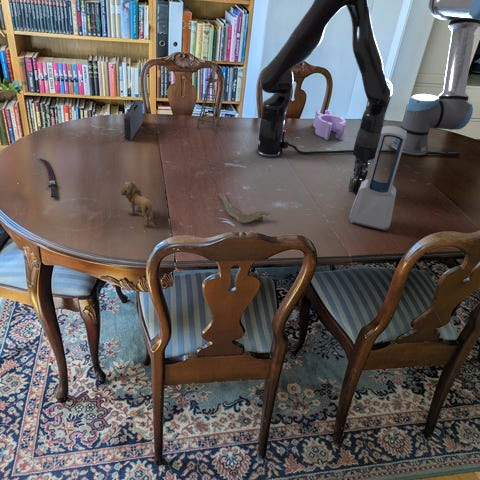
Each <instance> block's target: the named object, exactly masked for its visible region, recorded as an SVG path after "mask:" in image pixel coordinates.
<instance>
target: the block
mask: <svg viewBox="0 0 480 480" xmlns="http://www.w3.org/2000/svg"><path fill="white" fill-rule="evenodd" d="M355 180H356V177H354V175H353V176H352V175H350V178H349V183H348V191H349V193H355V192H353V189H354V185H355ZM360 180H361V179H360Z"/></svg>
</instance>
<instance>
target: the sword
mask: <svg viewBox="0 0 480 480" xmlns="http://www.w3.org/2000/svg"><path fill="white" fill-rule="evenodd" d="M40 161H41V162H42V163H43V165H44V166H45V169H46V173H47V176H48V185H47V188H50V198H56V197H57V189H56V188H57V187H59V185H58V184H57V183H56V180H55V176H54V172H53V169H52V167H51V164H50V163H49V161H48V160H46V159H43V158H40Z"/></svg>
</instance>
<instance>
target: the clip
mask: <svg viewBox="0 0 480 480" xmlns="http://www.w3.org/2000/svg"><path fill="white" fill-rule="evenodd" d="M346 121H347V120H346V119H345V118H343V117H342V116H339V115H336V114H335V113H334V112H333V111H331V110H327V109H325V110H324V113H321V110H320V109H317V110H315V114H314V120H313V128H315V130H314V133H315V134H316V135H317V136H319V137H321V138H324V139H325V141H328V140H329V139H330V137H331V132H334V133H336V135H335V139H336V140H339V141H343V138H344V134H345V129H346V123H347V122H346Z"/></svg>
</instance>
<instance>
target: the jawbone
mask: <svg viewBox="0 0 480 480" xmlns="http://www.w3.org/2000/svg"><path fill="white" fill-rule="evenodd" d="M218 197H219V198H220V199H221V200H222V203H223V205H224V208H225V211H226V214H228V215H229V216H230V217H232V218H233V219H234V220H237V222H238V223H240V224H243V225H244V224H249V223H251V222H254V221H256V220H257V221H259V222H262V221H263V220H264V219H263V218H264V216H267V217H268V216H270V215H271V214H270V213H269V212H267V211H261V210H260V211H255V212H253V213H243V212H242V211H241V210H239V209H238V208H237V207H236V206H235V205H234V203H233V202H229V201H228V199H227V197H226V196H225V194H224V193H218Z"/></svg>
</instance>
